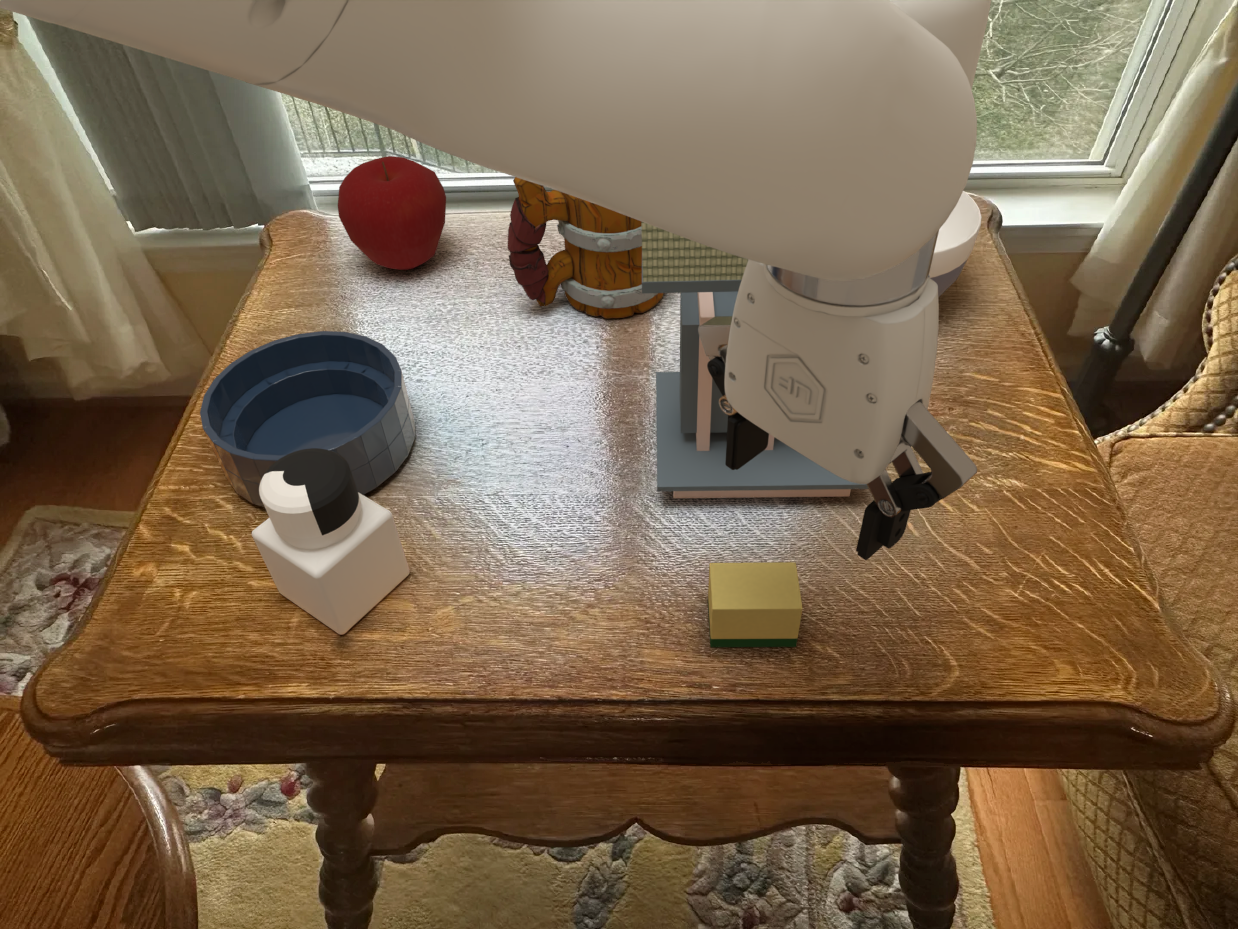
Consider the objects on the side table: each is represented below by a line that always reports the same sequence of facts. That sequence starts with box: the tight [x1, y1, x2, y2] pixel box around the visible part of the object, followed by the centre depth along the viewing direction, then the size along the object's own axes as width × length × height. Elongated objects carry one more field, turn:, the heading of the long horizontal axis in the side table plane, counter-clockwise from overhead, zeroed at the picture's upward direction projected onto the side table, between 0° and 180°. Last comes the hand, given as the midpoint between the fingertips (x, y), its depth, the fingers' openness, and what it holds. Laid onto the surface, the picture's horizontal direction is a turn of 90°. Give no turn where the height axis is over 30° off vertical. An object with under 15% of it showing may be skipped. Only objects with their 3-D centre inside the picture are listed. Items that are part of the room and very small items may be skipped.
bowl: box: [929, 190, 982, 298], centre depth 92 cm, size 16×16×10 cm
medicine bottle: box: [251, 448, 411, 636], centre depth 67 cm, size 7×7×12 cm
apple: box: [337, 155, 447, 271], centre depth 98 cm, size 11×11×12 cm
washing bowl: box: [199, 330, 416, 508], centre depth 80 cm, size 16×16×6 cm
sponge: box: [707, 561, 803, 648], centre depth 66 cm, size 6×4×4 cm, turn 89°
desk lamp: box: [641, 221, 930, 499], centre depth 68 cm, size 18×14×33 cm
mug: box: [507, 177, 665, 319], centre depth 91 cm, size 11×16×15 cm, turn 113°
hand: (808, 498), depth 55 cm, fingers open, 9 cm apart
